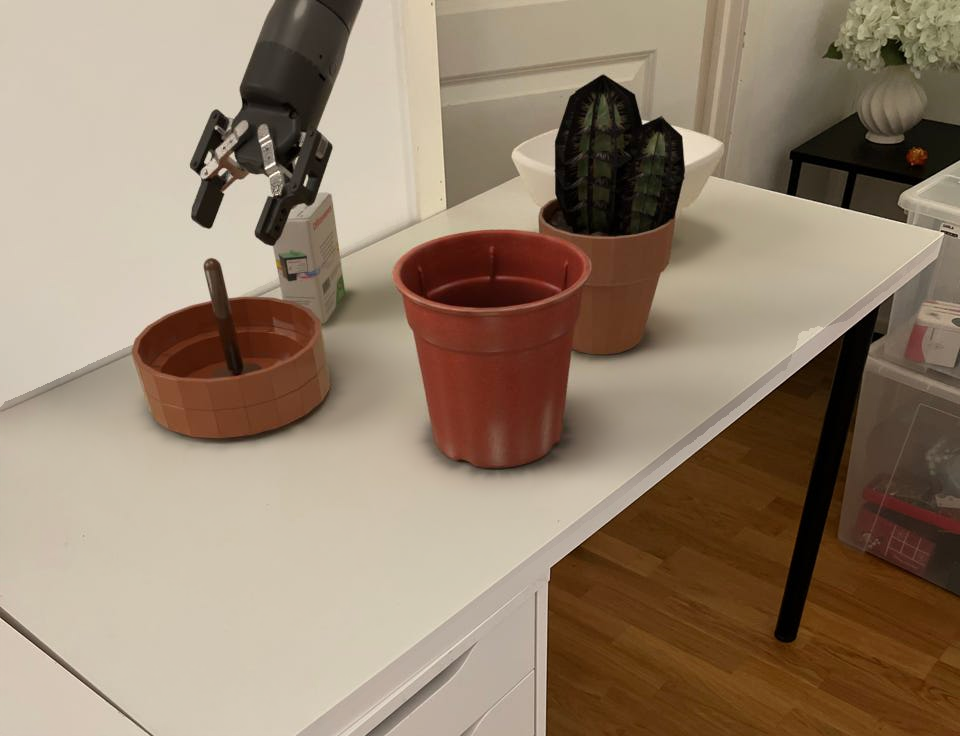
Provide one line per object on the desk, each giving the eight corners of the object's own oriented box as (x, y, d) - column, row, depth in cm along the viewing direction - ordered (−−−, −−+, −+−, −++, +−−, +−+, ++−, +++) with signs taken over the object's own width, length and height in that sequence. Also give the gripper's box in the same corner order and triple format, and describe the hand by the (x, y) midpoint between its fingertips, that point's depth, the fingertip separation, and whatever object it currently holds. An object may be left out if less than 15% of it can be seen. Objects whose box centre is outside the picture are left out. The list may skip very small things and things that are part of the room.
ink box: (307, 292, 117) (290, 190, 109) (347, 293, 116) (332, 191, 108) (285, 323, 111) (265, 217, 103) (326, 325, 110) (309, 218, 102)
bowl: (606, 201, 136) (610, 109, 128) (736, 240, 123) (749, 142, 115) (490, 246, 125) (487, 150, 117) (620, 294, 113) (626, 190, 105)
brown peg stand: (205, 391, 99) (171, 260, 89) (247, 372, 101) (218, 243, 92) (233, 408, 96) (201, 274, 87) (276, 389, 98) (249, 257, 89)
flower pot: (530, 504, 83) (529, 325, 72) (375, 455, 89) (352, 285, 78) (614, 416, 93) (624, 247, 82) (469, 378, 99) (460, 218, 88)
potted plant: (567, 376, 99) (573, 105, 82) (520, 322, 108) (516, 70, 91) (687, 351, 102) (717, 85, 85) (631, 301, 111) (647, 53, 94)
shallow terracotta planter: (117, 400, 99) (97, 340, 95) (263, 338, 108) (252, 281, 104) (214, 465, 89) (197, 401, 85) (366, 392, 98) (358, 331, 94)
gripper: (214, 30, 89) (151, 199, 90) (328, 45, 82) (259, 226, 83) (266, 81, 95) (207, 238, 97) (376, 99, 89) (311, 266, 90)
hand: (231, 232), depth 90 cm, fingers open, 8 cm apart
